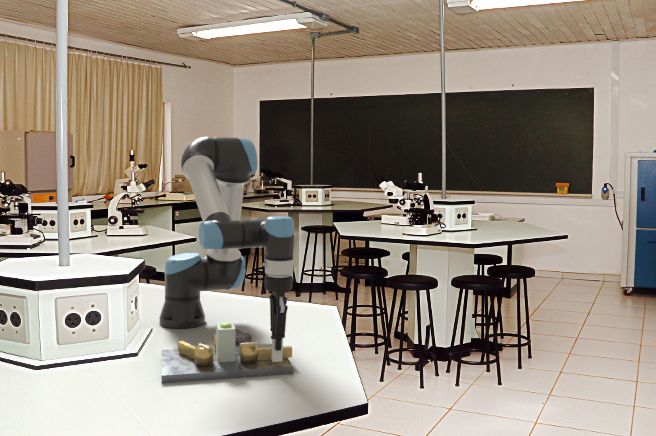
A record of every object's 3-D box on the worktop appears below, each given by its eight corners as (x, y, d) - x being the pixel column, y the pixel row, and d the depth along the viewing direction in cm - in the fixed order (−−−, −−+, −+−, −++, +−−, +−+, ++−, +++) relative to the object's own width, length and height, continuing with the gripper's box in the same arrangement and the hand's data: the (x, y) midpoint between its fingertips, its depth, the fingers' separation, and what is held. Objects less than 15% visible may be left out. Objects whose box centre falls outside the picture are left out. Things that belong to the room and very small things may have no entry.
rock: (250, 349, 182) (250, 334, 181) (212, 349, 181) (212, 334, 180) (252, 341, 190) (252, 326, 189) (215, 341, 189) (215, 326, 188)
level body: (216, 355, 169) (216, 321, 168) (232, 353, 171) (232, 320, 170) (217, 362, 164) (218, 327, 163) (235, 361, 165) (235, 326, 164)
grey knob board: (161, 356, 172) (161, 336, 172) (279, 349, 181) (279, 330, 181) (161, 383, 153) (161, 360, 153) (293, 373, 162) (293, 352, 162)
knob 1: (217, 362, 163) (217, 345, 162) (201, 366, 159) (201, 349, 159) (187, 349, 173) (187, 333, 172) (172, 352, 169) (172, 336, 169)
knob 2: (240, 363, 163) (240, 346, 162) (238, 356, 168) (238, 340, 167) (293, 359, 167) (293, 343, 166) (289, 353, 171) (290, 337, 171)
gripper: (260, 270, 166) (259, 353, 168) (269, 280, 153) (267, 370, 156) (287, 269, 168) (285, 351, 170) (297, 279, 155) (295, 368, 158)
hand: (276, 360), depth 163 cm, fingers closed
